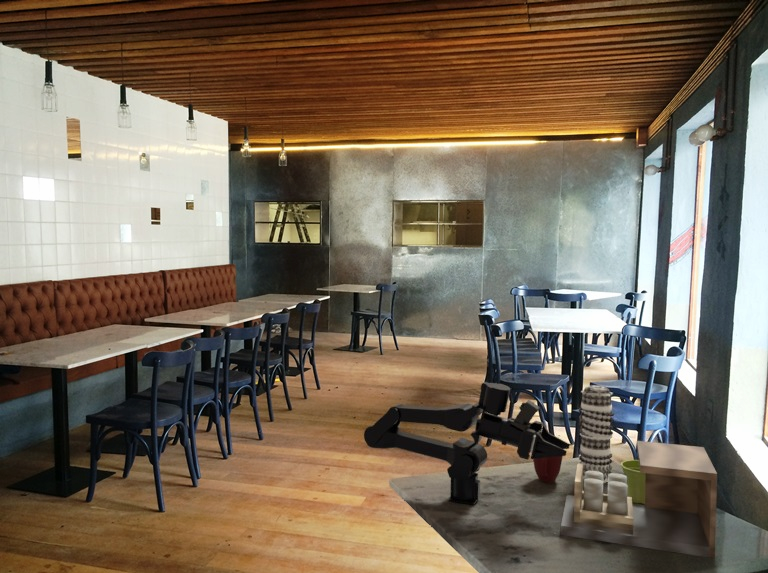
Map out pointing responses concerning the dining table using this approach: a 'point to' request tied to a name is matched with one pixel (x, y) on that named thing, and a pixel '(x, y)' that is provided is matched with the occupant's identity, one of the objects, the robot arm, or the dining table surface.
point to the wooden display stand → (664, 504)
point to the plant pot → (634, 481)
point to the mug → (547, 468)
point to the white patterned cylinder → (596, 430)
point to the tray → (598, 515)
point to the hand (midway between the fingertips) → (567, 449)
